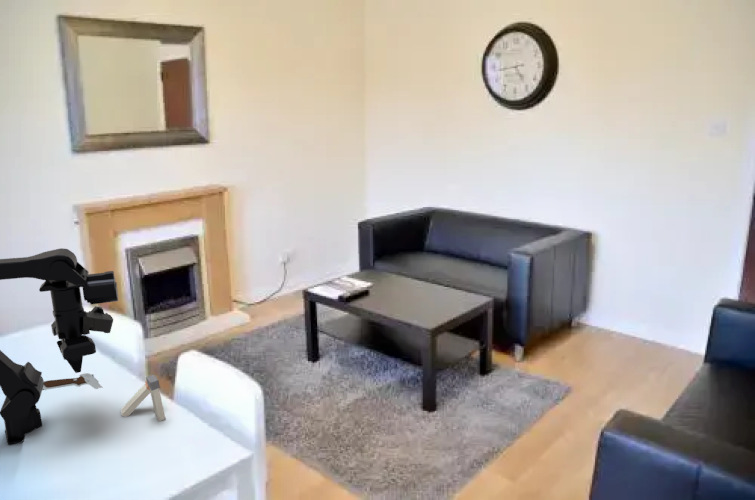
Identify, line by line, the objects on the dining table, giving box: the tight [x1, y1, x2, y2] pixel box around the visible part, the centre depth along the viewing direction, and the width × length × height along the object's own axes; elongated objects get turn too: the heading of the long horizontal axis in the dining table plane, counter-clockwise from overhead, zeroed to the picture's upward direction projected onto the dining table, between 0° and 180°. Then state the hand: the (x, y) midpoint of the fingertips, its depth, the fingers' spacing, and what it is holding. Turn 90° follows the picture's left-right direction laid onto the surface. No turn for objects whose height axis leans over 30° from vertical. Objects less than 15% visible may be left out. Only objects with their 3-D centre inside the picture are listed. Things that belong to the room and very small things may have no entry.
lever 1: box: [120, 380, 151, 418], centre depth 141 cm, size 2×3×10 cm
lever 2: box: [145, 373, 166, 422], centre depth 137 cm, size 2×3×10 cm, turn 36°
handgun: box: [42, 372, 104, 391], centre depth 151 cm, size 2×23×12 cm
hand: (78, 371), depth 135 cm, fingers closed
